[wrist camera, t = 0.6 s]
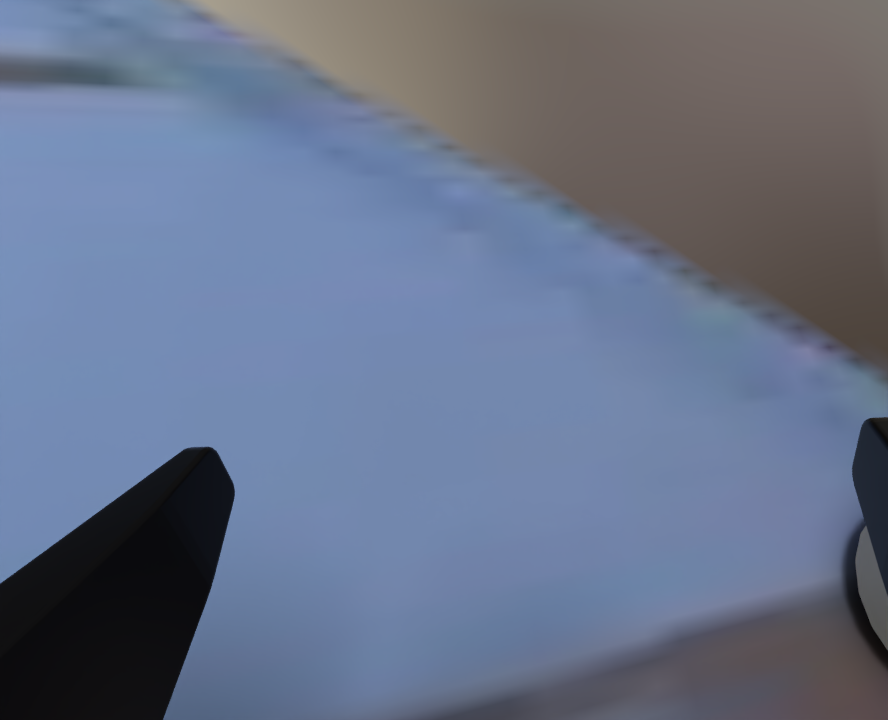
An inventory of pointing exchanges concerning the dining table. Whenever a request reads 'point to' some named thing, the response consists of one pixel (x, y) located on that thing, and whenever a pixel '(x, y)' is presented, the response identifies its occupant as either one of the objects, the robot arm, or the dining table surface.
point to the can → (872, 587)
